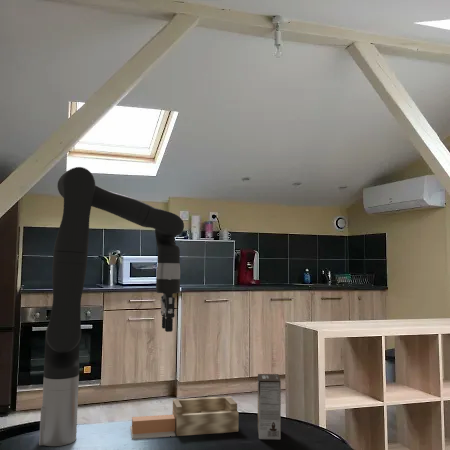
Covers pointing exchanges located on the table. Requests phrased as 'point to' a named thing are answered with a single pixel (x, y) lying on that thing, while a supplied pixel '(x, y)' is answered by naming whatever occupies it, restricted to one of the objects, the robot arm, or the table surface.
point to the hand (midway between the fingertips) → (167, 329)
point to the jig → (205, 415)
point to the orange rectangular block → (153, 424)
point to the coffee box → (269, 406)
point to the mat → (151, 434)
